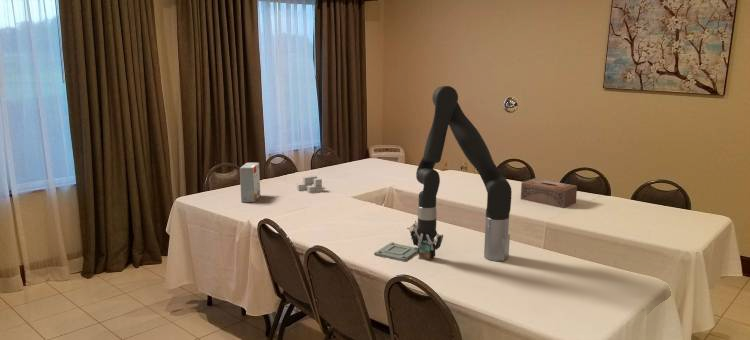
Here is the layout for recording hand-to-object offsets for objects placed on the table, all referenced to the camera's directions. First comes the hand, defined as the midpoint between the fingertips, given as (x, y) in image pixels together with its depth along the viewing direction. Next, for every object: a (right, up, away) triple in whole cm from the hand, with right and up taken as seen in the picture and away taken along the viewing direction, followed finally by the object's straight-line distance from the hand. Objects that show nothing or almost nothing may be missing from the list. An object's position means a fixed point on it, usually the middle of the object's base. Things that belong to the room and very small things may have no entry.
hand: (426, 256), depth 219 cm
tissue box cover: (+76, +17, +82) cm, 113 cm away
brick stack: (0, -1, 0) cm, 1 cm away
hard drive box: (-92, +18, +90) cm, 130 cm away
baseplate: (-12, +1, +6) cm, 13 cm away
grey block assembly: (-61, +22, +107) cm, 125 cm away
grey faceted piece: (-2, +4, +22) cm, 22 cm away
